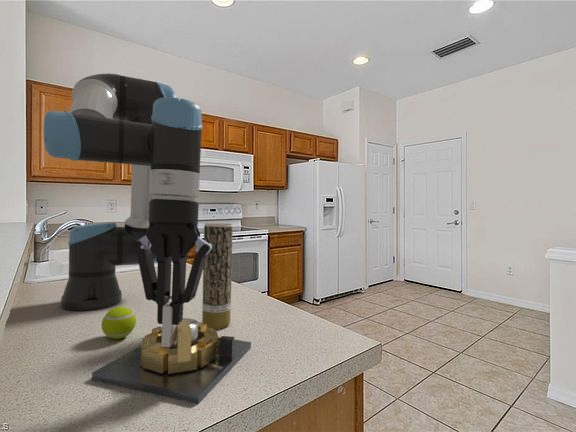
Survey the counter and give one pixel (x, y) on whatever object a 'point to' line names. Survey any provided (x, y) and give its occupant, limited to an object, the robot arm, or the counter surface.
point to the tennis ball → (118, 322)
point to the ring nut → (179, 349)
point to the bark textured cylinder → (217, 275)
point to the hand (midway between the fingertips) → (169, 343)
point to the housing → (177, 384)
